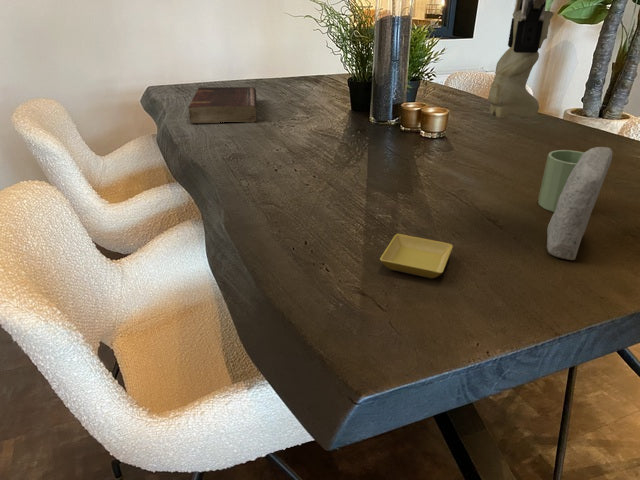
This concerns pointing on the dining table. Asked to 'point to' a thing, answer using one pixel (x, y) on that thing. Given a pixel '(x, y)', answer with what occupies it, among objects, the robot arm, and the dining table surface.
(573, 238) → the decorative stone
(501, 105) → the sculpture
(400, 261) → the yellow shallow tray
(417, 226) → the dining table surface
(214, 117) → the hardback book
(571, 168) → the sage cup
